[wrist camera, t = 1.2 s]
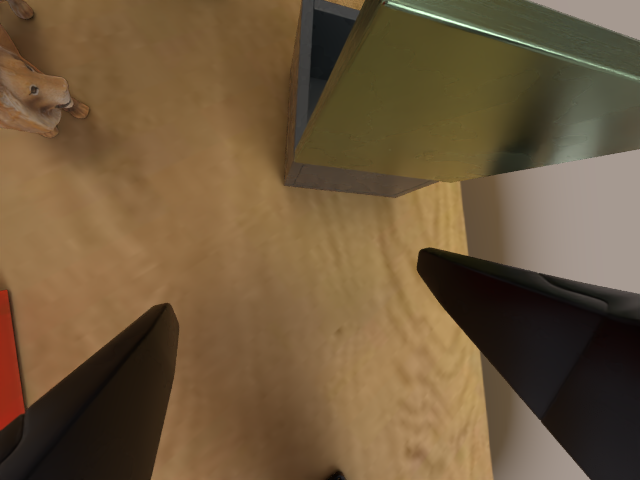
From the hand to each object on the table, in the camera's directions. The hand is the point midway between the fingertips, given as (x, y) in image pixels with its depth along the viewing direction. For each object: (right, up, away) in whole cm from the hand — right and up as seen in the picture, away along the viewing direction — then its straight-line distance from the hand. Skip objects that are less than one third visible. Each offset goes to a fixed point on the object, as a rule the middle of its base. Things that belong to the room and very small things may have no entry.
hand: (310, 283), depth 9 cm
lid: (+6, +6, +2) cm, 9 cm away
